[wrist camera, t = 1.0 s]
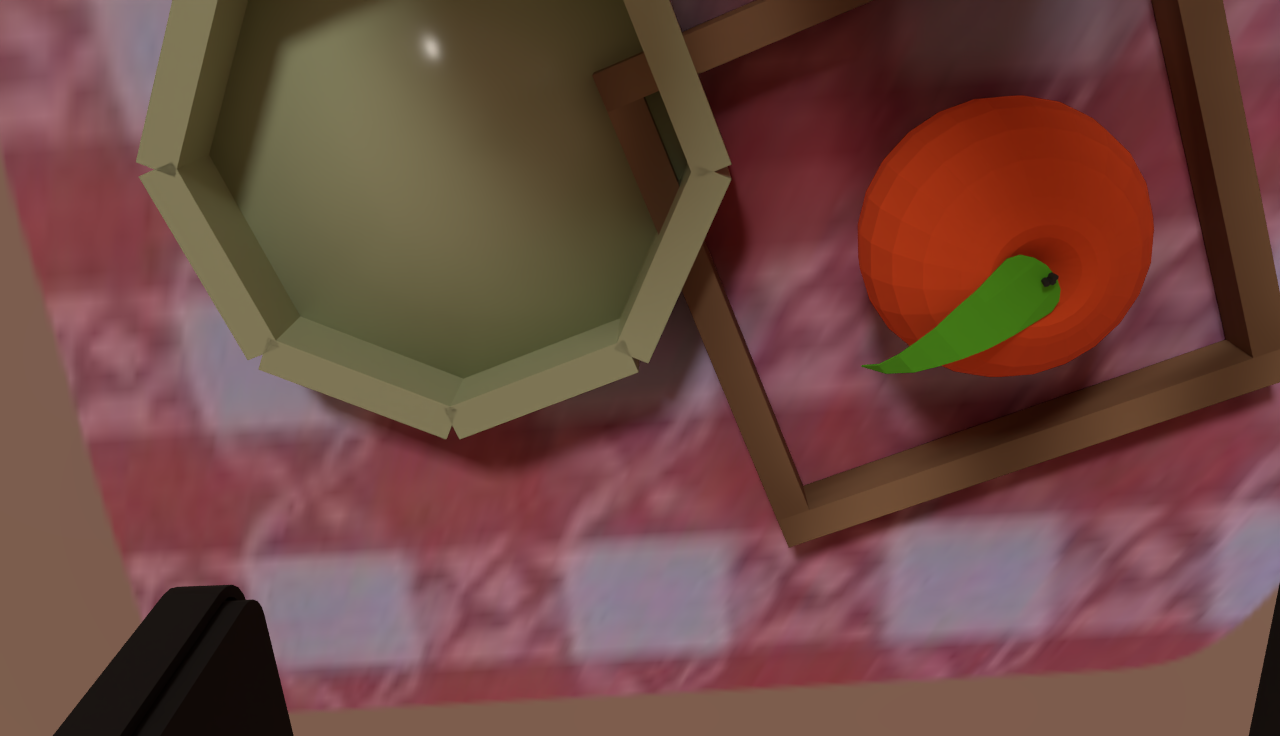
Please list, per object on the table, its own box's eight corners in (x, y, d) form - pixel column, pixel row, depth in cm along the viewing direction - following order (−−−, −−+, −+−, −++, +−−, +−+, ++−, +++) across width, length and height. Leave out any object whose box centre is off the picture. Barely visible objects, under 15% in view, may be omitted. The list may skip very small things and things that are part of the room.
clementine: (908, 391, 31) (974, 510, 24) (757, 225, 29) (784, 304, 23) (1137, 213, 29) (1278, 290, 22) (989, 22, 27) (1094, 44, 20)
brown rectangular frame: (1158, -174, 25) (1187, -181, 24) (1267, 357, 30) (1296, 376, 29) (595, 69, 28) (592, 75, 26) (783, 522, 33) (788, 547, 31)
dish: (583, -228, 25) (574, -249, 22) (778, 284, 30) (789, 315, 27) (100, 5, 27) (40, 11, 25) (352, 446, 32) (324, 489, 29)
